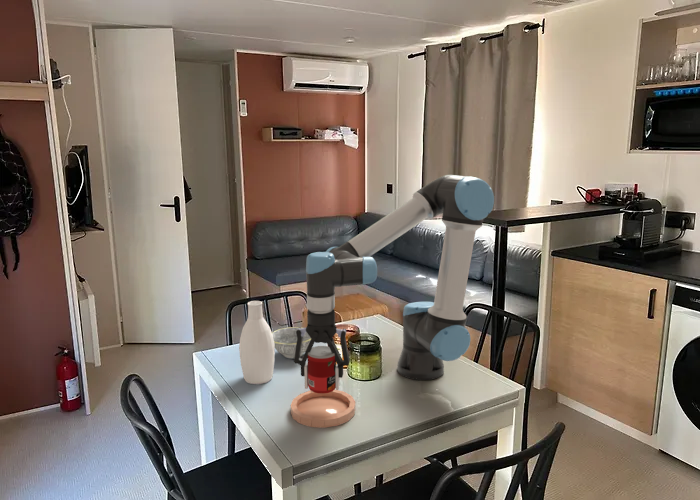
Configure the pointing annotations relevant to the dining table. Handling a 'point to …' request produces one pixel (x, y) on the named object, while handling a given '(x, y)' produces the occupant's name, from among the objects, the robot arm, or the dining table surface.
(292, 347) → the bowl
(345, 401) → the tray
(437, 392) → the dining table surface
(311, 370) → the canned food
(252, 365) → the bottle
